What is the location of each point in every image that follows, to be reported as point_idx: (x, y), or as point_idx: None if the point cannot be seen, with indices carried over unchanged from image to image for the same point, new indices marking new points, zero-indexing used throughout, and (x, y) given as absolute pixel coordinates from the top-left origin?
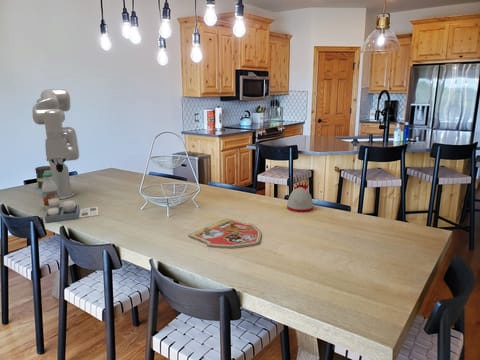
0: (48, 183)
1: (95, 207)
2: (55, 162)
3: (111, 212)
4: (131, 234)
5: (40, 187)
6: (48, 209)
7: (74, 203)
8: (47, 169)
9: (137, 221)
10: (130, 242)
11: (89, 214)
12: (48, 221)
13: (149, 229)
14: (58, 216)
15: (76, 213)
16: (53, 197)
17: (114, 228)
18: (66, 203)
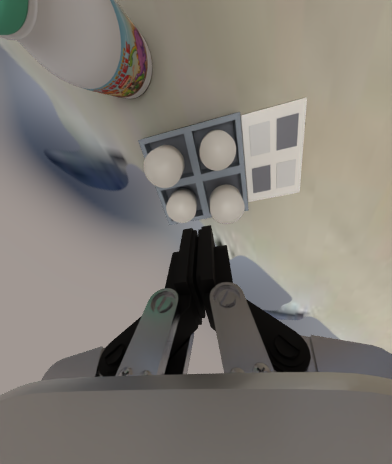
0: (63, 58)
1: (297, 105)
2: (175, 352)
3: (340, 167)
4: (343, 295)
5: None
6: (169, 211)
7: (234, 157)
8: None
9: (381, 247)
10: (332, 315)
11: (275, 185)
12: None
13: (382, 285)
14: (200, 218)
15: (245, 210)
16: (128, 83)
17: (321, 270)
18: (224, 223)
